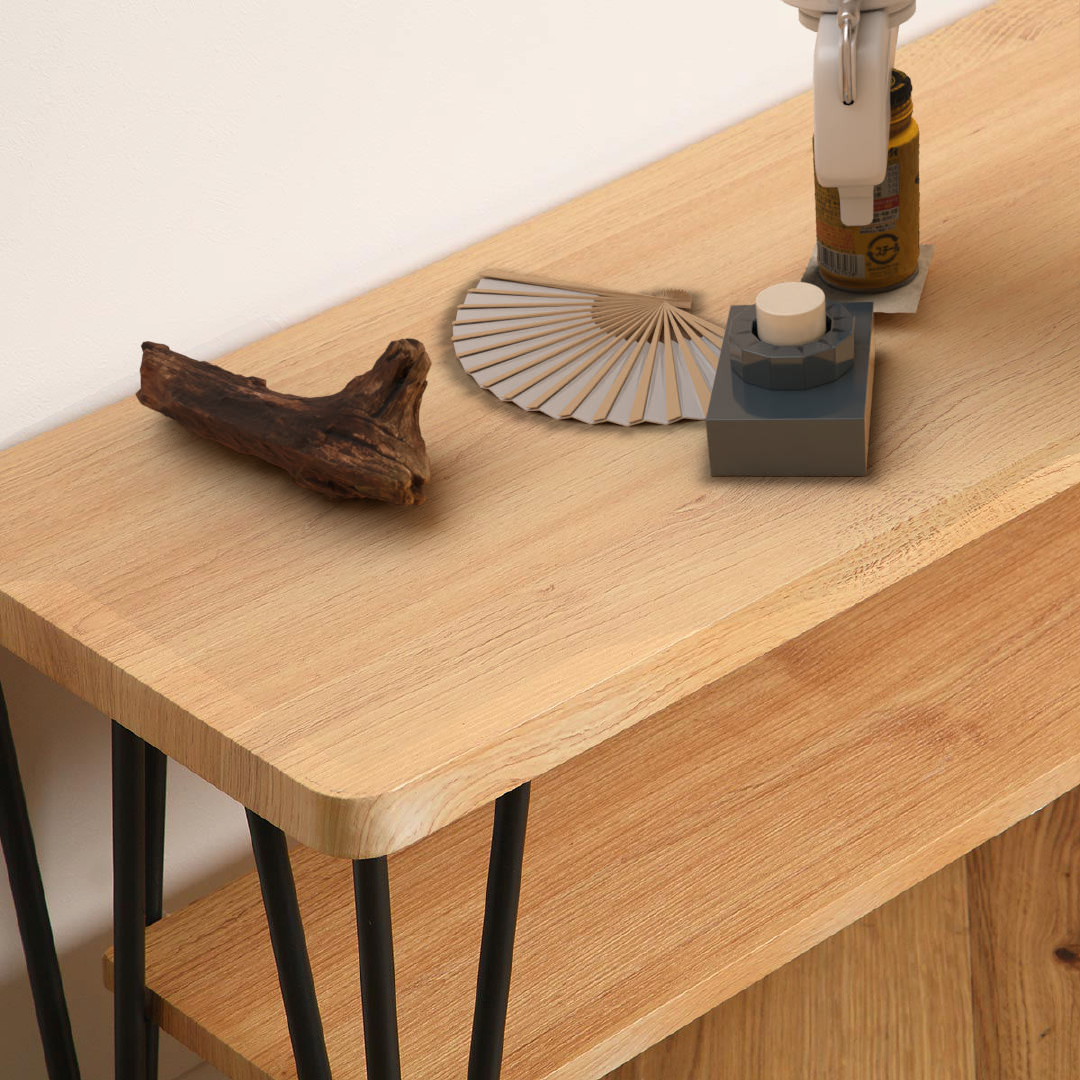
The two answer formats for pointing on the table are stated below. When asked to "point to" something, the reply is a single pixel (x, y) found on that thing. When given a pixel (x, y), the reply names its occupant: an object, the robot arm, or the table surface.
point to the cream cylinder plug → (791, 314)
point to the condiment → (877, 226)
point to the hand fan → (586, 350)
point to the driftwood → (307, 421)
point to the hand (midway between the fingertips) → (860, 191)
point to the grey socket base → (793, 398)
